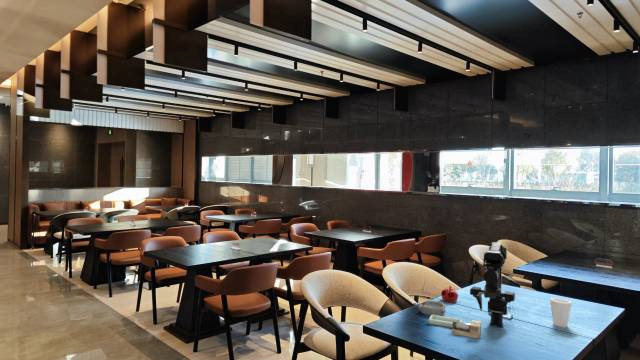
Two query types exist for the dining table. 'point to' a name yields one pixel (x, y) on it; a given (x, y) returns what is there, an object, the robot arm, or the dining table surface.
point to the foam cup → (560, 311)
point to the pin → (461, 326)
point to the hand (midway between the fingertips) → (491, 312)
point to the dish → (433, 308)
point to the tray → (442, 321)
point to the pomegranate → (449, 295)
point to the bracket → (474, 330)
